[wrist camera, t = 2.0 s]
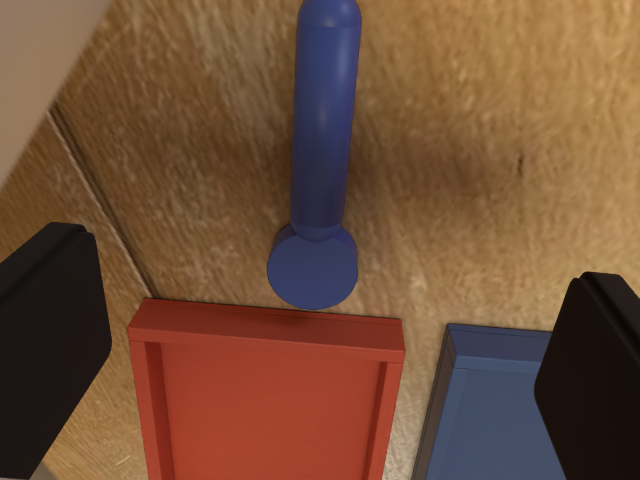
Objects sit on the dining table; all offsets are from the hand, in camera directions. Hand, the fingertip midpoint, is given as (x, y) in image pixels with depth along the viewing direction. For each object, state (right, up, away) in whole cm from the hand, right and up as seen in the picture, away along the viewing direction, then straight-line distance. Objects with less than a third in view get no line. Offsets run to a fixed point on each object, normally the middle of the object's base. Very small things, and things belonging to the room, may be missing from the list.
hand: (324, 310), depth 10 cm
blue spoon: (0, +4, +7) cm, 8 cm away
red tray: (-2, -8, +14) cm, 16 cm away
